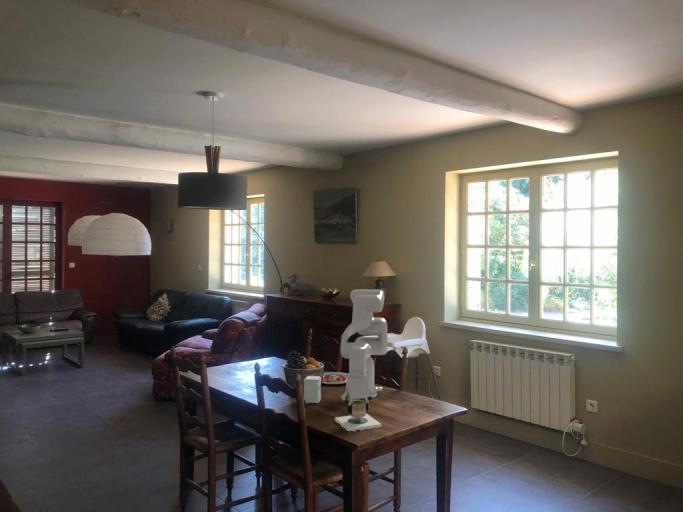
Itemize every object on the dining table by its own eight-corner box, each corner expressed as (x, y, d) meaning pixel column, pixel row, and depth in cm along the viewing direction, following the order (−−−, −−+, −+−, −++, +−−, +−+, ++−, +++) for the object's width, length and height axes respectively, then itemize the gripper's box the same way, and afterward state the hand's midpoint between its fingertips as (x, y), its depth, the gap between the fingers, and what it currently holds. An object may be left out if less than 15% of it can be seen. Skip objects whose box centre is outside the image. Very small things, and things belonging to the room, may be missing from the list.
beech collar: (361, 411, 252) (361, 399, 252) (367, 416, 246) (367, 403, 246) (347, 413, 250) (347, 400, 250) (353, 418, 243) (353, 404, 243)
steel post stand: (366, 416, 258) (366, 399, 258) (381, 427, 244) (381, 409, 243) (334, 420, 252) (334, 403, 252) (348, 432, 238) (348, 414, 237)
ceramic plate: (315, 375, 338) (315, 370, 338) (356, 376, 335) (356, 371, 335) (308, 386, 313) (308, 381, 312) (353, 387, 310) (352, 382, 310)
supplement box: (317, 404, 278) (317, 379, 277) (303, 403, 279) (303, 379, 279) (321, 400, 285) (321, 376, 285) (307, 399, 287) (307, 375, 286)
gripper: (371, 370, 254) (371, 407, 254) (336, 373, 248) (336, 412, 248) (378, 373, 247) (378, 412, 248) (342, 377, 241) (343, 417, 241)
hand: (357, 412), depth 248 cm, fingers closed on beech collar, 7 cm apart
